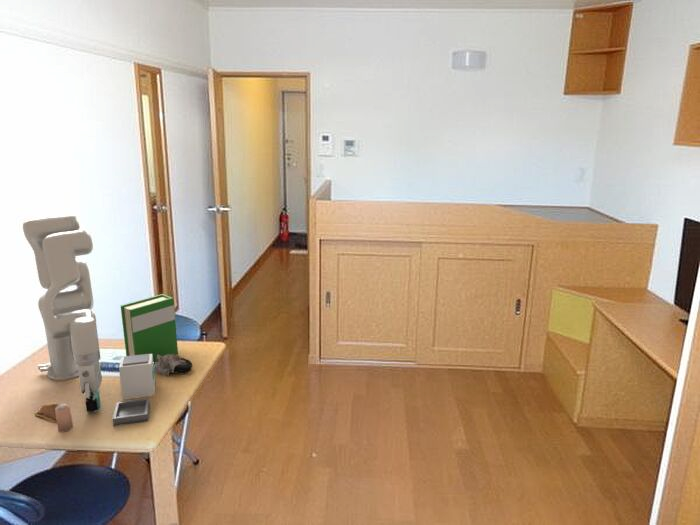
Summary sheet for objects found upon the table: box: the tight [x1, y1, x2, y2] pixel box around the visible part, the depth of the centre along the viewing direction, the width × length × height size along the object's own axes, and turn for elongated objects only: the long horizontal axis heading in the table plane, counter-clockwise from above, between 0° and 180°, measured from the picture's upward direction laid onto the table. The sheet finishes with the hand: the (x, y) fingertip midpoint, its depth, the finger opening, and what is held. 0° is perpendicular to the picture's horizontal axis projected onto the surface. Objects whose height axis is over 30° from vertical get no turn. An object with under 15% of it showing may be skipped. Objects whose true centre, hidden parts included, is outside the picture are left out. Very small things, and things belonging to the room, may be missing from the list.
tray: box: [112, 397, 151, 427], centre depth 168 cm, size 10×10×2 cm
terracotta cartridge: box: [55, 403, 74, 432], centre depth 160 cm, size 4×4×8 cm
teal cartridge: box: [88, 390, 102, 413], centre depth 170 cm, size 4×4×8 cm
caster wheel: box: [154, 354, 193, 378], centre depth 197 cm, size 7×11×10 cm
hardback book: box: [120, 293, 179, 363], centre depth 204 cm, size 18×7×24 cm, turn 140°
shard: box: [34, 403, 62, 424], centre depth 167 cm, size 11×8×2 cm
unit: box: [118, 354, 156, 400], centre depth 181 cm, size 11×8×13 cm
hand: (93, 406), depth 171 cm, fingers closed on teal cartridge, 4 cm apart
